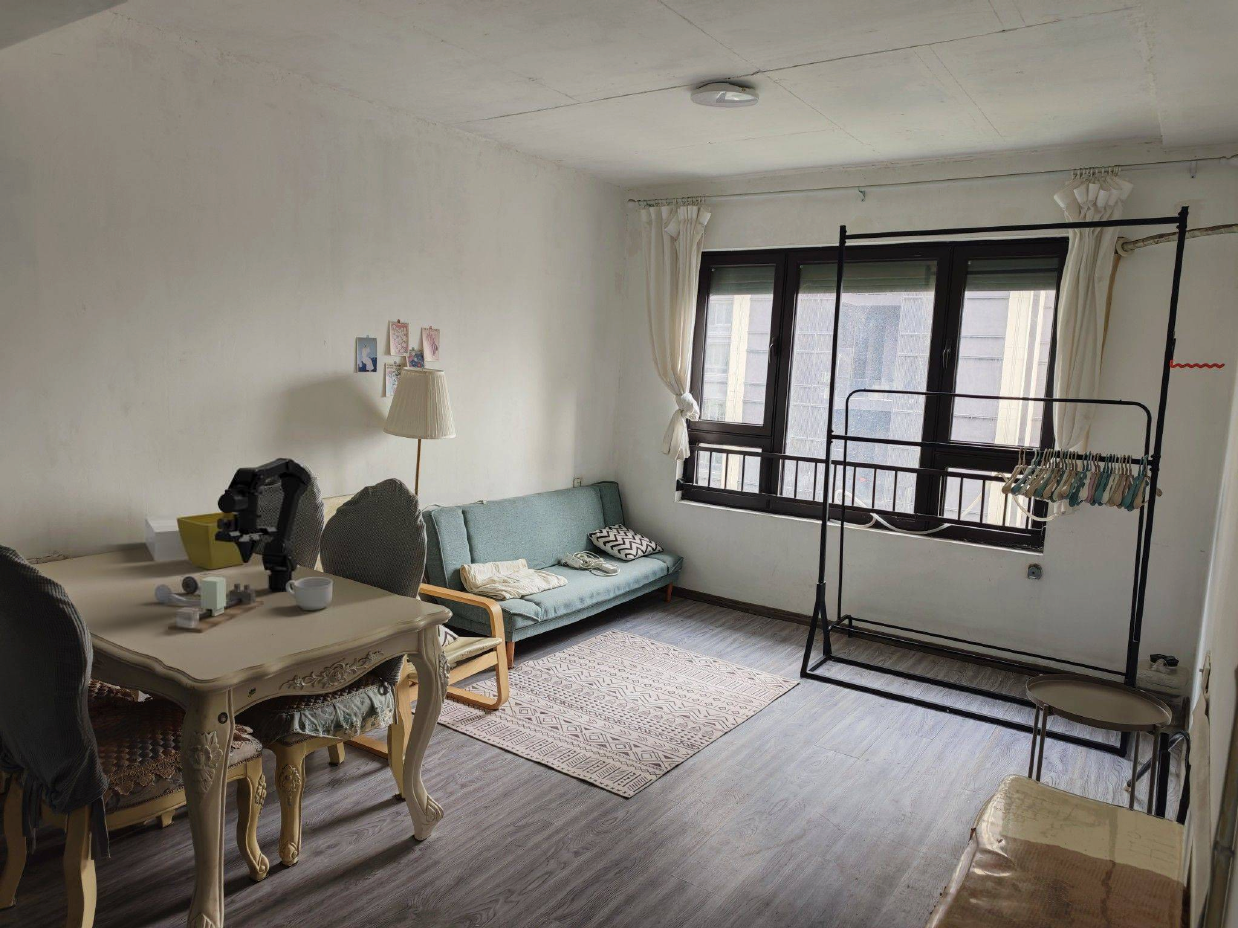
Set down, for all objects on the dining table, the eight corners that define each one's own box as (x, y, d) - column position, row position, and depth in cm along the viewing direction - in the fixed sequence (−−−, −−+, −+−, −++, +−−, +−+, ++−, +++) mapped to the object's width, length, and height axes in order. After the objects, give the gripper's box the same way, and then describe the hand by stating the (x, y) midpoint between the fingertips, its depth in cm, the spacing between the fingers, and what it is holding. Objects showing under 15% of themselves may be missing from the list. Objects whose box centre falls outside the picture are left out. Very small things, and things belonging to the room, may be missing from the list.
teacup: (340, 605, 257) (340, 579, 256) (316, 614, 247) (316, 587, 246) (302, 599, 261) (302, 573, 260) (277, 608, 251) (277, 581, 250)
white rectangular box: (145, 544, 325) (144, 516, 324) (176, 541, 331) (176, 514, 330) (155, 561, 299) (154, 531, 298) (189, 559, 305) (188, 529, 304)
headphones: (137, 598, 251) (194, 616, 247) (139, 580, 251) (197, 597, 246) (180, 584, 268) (234, 601, 264) (182, 567, 267) (237, 583, 263)
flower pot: (175, 564, 296) (175, 517, 294) (227, 555, 312) (227, 510, 310) (205, 573, 286) (205, 524, 284) (257, 564, 301) (257, 518, 299)
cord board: (233, 601, 256) (233, 580, 255) (263, 604, 254) (263, 583, 253) (167, 629, 228) (167, 605, 227) (201, 632, 226) (200, 609, 226)
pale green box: (210, 610, 241) (209, 576, 240) (226, 612, 241) (225, 578, 239) (201, 614, 238) (200, 579, 236) (217, 616, 237) (216, 581, 235)
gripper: (250, 506, 263) (248, 556, 264) (201, 510, 246) (199, 563, 246) (279, 509, 259) (276, 560, 260) (230, 513, 242) (228, 568, 242)
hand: (245, 562), depth 252 cm, fingers closed
